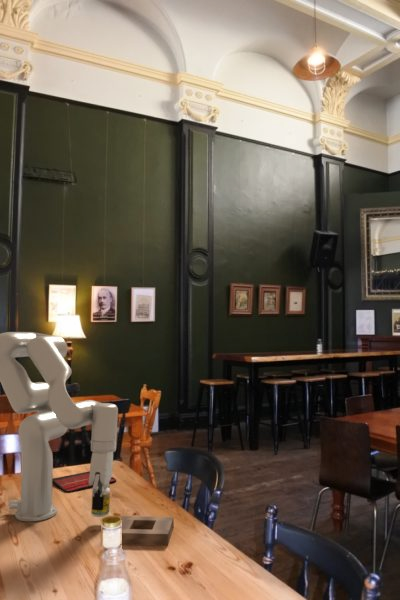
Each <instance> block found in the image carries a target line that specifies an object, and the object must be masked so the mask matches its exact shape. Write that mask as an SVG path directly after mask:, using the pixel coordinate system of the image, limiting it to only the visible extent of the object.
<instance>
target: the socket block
mask: <svg viewBox="0 0 400 600" xmlns="http://www.w3.org/2000/svg"><path fill="white" fill-rule="evenodd" d="M119 517H120V518H121V520H122V544H121V545H126V546H127V545H129V546H131V545H132V546H134V545H135V546H169V544H170V540H171V538H172V534H173V531H174V527H175V526H174V524H175V523H174V516H141V515H139V516H135V515H133V516H132V515H131V516H130V515H129V516H128V515H120V516H119Z"/></svg>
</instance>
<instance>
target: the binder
mask: <svg viewBox="0 0 400 600" xmlns="http://www.w3.org/2000/svg"><path fill="white" fill-rule="evenodd" d="M89 475H90V470H89V471H85V472H80V473H75V474H70V475H64V476H59V477H54V478H53V477H52V484H55V485H54V487H56V488H57V489H58V490H61V491H62V492H63V493H66V494H69V493H70V494H71V493H75V492H78V491H82V490H83V491H84V490H87V489H93V485H94V484H93V485H92V486H89ZM115 483H117V479H116V478H115V477H113V476H112V477H111V479H110V481H109V485H111V484H115Z"/></svg>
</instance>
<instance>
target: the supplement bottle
mask: <svg viewBox="0 0 400 600" xmlns="http://www.w3.org/2000/svg"><path fill="white" fill-rule="evenodd" d="M99 485H102V483H99ZM99 489H100V492H101V488H99ZM91 491H92V492H91V494H92V495H91V501H92V500H93V490H91ZM103 496H104V502H103V510H93V509H92V508H91V509H90V510H91V512H90V513H91V515H92V516H94V517H96V518H103V517H106V516H108V515H109V513H110V506H111V505H110V503H111V489H110V487H109V488H108V483H107V484H106V485H105V486H104V489H103Z"/></svg>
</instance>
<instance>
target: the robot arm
mask: <svg viewBox="0 0 400 600" xmlns="http://www.w3.org/2000/svg"><path fill="white" fill-rule="evenodd" d="M67 353H68V344H67V342H66V341H65V339H64V338H62V337H61V336H58V335H53V334H46V333H39V332H33V331H7V332H2V333H0V383H1V386H2V389H3V391H4V393H5V395H6V397H7V400H8V402H9V404H10V407H11V408H12V410H13V411H14V412H15V413H17V414H18V415H19V414H20V415H21V414H22V415H24V414H29V413H33V412H36V413H33V414H30V415H28V416H26V417H25V418H23V420H22V421H21V422H20V424H19V426H18V439H19V444H20V452H21V453H20V454H21V462H20V463H21V464H20V466H21V467H20V468H21V469H20V470H21V471H20V477H21V479H20V499H19V500H18V499H17V500H16V499H11V500H9V502H8V507H9V509H15V510H16V511H15V515H14V516H15V519H16V520H18V521H21V522H39V521H43V520H48V519H50V518H52V517H54V516H55V515H56V514H57V513H58V508H57V506H56V505H54V504H53V483H52V479H53V477H54V476H53V474H54V473H53V472H54V471H53V470H54V469H53V468H54V467H53V464H54V463H53V460H54V459H53V452H52V448H51V446H50V443H49V442H50V441H52V440H55V439H58V438H60V437H62V436H64V435H65V434H66V433H67V431H68V429H70V430H76V429H79V428H82V427H85V426H89V425H91V441H90V451H91V452H92V453H91V458H90V466H89V471H90V475H89V486H92V485H93V484H94V485H93V487H92V491H93V500H92V499H91V509H93V510H103V502H104V496H103V489H104V486H105V485H106V484H107V483H108V488H109V489H110V484H109V481H110V479H111V477H113V471H114V470H113V467H114V452H116V450H117V436H118V418H119V408H118V406H117V405H116V404H114V403H110V402H105V403H104V402H103V403H102V402H100V401H97V400H94V399H86V400H81V401H77V402H74V400H73V399H72V398H71V396H70V394H69V393H68V391H67V387H66V382H67V380H68V379H69V378H70V376H71V375H72V374H73V373H72V368H71V367H70V365H69V364H68V362H67V361H66V360H65V357H66V356H67ZM24 357H25V358H26V357H28V358H29V359H30V360H31V361H32V363H33V364H34V366H35V367H36V369H37V370H38V372H39V373H40V375H41V376H42V378H43V379H44V382H43V381H37V382H33V381H31V379H30V377H29V374H28V373H27V370H26V369H25V367H24V366H23V365H22V364H21V363H20V362H19V361H18V360H16V358H24ZM99 483H102V485H99ZM99 488H101V492H100V489H99Z"/></svg>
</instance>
